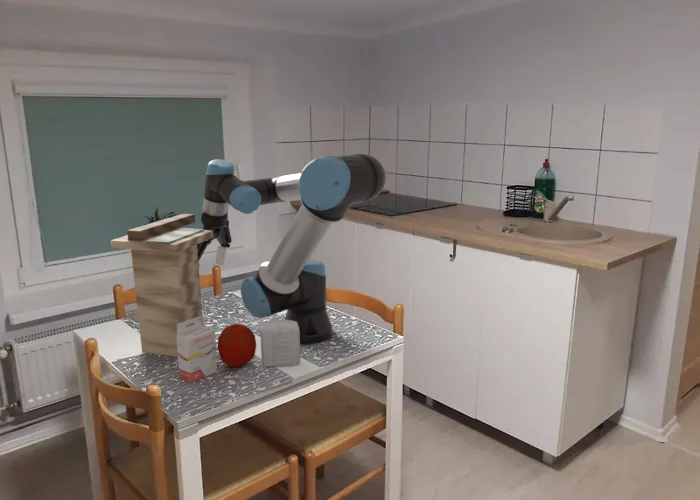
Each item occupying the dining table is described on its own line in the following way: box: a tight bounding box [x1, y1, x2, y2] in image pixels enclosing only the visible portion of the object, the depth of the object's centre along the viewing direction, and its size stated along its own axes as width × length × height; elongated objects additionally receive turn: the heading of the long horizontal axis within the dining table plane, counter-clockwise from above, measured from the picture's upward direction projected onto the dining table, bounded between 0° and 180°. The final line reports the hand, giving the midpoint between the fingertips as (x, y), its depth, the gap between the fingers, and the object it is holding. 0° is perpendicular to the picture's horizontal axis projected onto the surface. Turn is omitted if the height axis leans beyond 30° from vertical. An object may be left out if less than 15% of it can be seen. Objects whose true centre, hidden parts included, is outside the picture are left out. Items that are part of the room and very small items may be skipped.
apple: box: [217, 323, 257, 368], centre depth 149 cm, size 10×10×12 cm
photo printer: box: [260, 319, 301, 367], centre depth 149 cm, size 10×4×12 cm, turn 98°
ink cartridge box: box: [176, 316, 218, 384], centre depth 142 cm, size 9×5×15 cm, turn 144°
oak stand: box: [110, 227, 214, 358], centre depth 157 cm, size 18×20×33 cm
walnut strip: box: [126, 213, 196, 241], centre depth 160 cm, size 26×4×2 cm, turn 163°
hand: (206, 271), depth 177 cm, fingers open, 13 cm apart
